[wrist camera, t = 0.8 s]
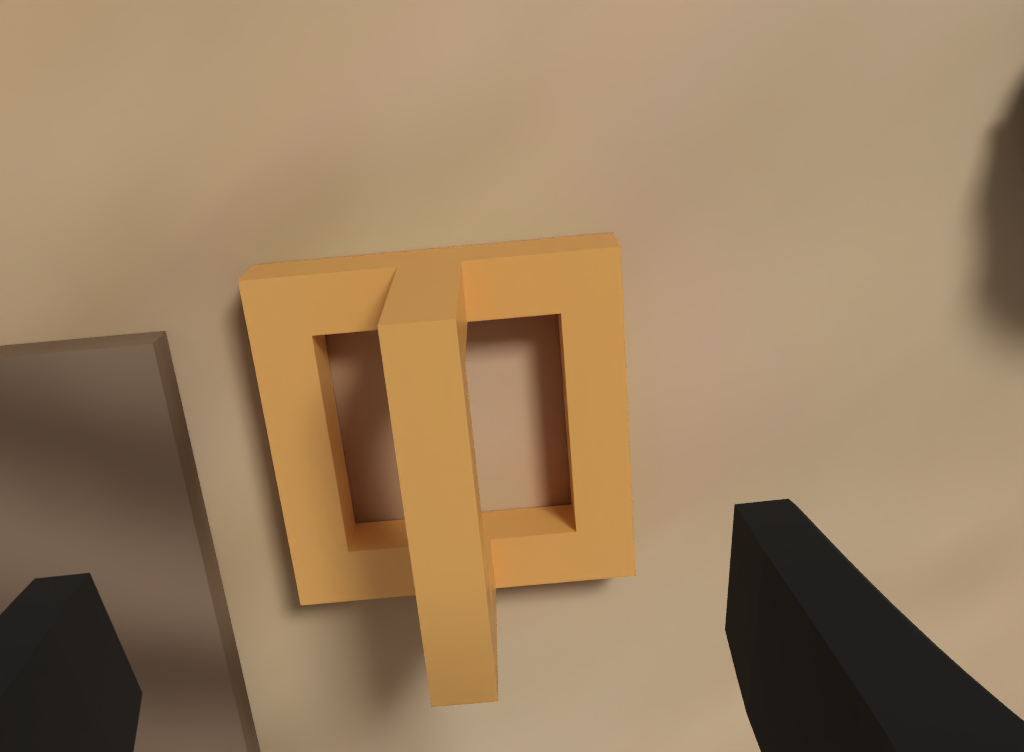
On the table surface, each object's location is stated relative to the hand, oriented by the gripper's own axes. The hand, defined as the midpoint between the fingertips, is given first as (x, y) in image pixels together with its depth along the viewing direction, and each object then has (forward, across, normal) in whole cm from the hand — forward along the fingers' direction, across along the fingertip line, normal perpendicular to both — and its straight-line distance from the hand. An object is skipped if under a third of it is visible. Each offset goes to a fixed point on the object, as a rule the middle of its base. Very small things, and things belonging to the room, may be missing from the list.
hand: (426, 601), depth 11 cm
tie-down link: (+13, 0, +7) cm, 15 cm away
